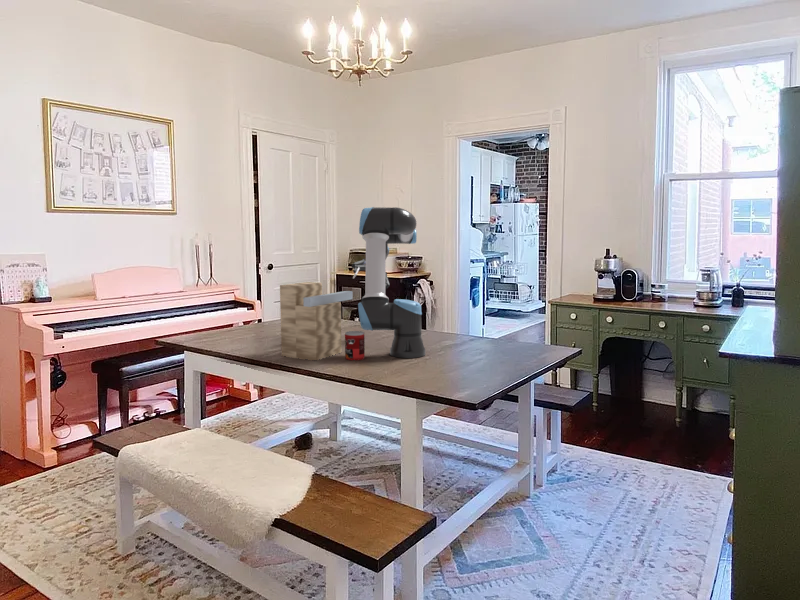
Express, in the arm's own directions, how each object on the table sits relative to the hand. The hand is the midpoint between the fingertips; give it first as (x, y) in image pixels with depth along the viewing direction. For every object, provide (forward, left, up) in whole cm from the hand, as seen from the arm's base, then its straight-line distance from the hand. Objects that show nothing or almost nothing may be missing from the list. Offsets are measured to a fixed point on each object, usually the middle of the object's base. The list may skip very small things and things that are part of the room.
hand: (367, 283), depth 280 cm
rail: (-8, +29, -6) cm, 30 cm away
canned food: (-24, +28, -28) cm, 46 cm away
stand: (-4, +36, -28) cm, 46 cm away
